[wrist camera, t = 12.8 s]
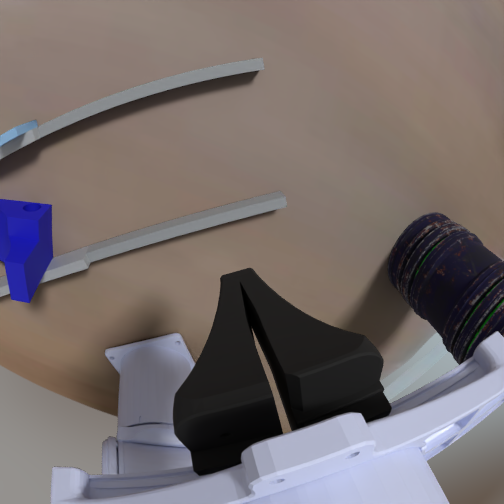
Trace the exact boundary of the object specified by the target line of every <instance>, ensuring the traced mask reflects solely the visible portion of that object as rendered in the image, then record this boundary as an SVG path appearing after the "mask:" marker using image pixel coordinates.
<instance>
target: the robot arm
mask: <svg viewBox="0 0 504 504" xmlns="http://www.w3.org/2000/svg"><path fill="white" fill-rule="evenodd" d="M220 281H221V286H220V296H219V301H218V307H217V311H216V315H215V319H214V322H213V326H212V329H211V332H210V334H209V337H208V340H207V342H206V344H205V346H204V349H203V351H202V353H201V355H200V357H199V359H198V361H197V362H196V364H195V362H194V360H193V358H192V356H191V354H190V352H189V350H188V348H187V346H186V344H185V342H184V340H183V338H182V336H181V335H180V334H179V333H173V334H169V335H165V336H161V337H157V338H153V339H149V340H145V341H140V342H136V343H132V344H127V345H123V346H118V347H114V348H109V349H106V350H105V355H106V357H107V358H108V360H109V361H110V362H111V364H112V365H113V366H114V368H115V369H116V370H117V371H118V373H119V374H120V384H119V401H118V431H117V438H115V437H111V436H109V437H108V439H107V440H105V441H103V444H102V475H89V474H88V473H86V472H85V471H83V470H81V469H79V468H75V467H53V468H52V482H51V504H449V502H448V500H447V498H446V496H445V494H444V492H443V491H442V489H441V487H440V485H439V484H438V482H437V480H436V478H435V476H434V474H433V472H432V471H431V469H430V467H429V465H428V463H427V462H426V461H427V460H429V459H430V458H432V457H433V456H435V455H436V454H438V453H439V452H441V451H442V450H443V449H445V448H446V447H448V446H449V445H451V444H452V443H453V442H455V441H456V440H457V439H459V438H460V437H461V436H463V435H464V434H465V433H467V432H468V431H469V430H471V429H472V428H473V427H474V426H476V425H477V424H478V423H479V422H481V421H482V420H483V419H484V418H486V417H487V416H488V415H489V414H490V413H492V412H493V411H494V410H495V409H496V408H498V407H499V406H500V405H501V404H502V403H503V402H504V337H503V336H502V335H501V334H500V333H499V332H498V331H496V332H495V333H493V334H492V335H490V336H489V337H488V338H486V339H485V340H483V341H482V342H481V343H480V344H479V345H478V346H477V348H476V349H475V351H474V354H473V356H472V357H471V358H469V359H468V360H466V361H465V362H463V363H462V364H460V365H459V366H457V367H455V368H454V369H452V370H451V371H449V372H447V373H446V374H444V375H442V376H441V377H439V378H437V379H436V380H434V381H432V382H430V383H429V384H427V385H425V386H423V387H421V388H419V389H418V390H416V391H414V392H412V393H410V394H408V395H406V396H404V397H402V398H400V399H398V400H397V401H394V402H392V403H389V402H388V400H387V398H386V397H385V395H384V393H383V391H384V388H383V386H382V384H381V382H380V381H379V380H380V376H381V372H382V368H383V358H382V356H381V354H380V353H379V351H378V350H377V349H376V347H375V346H374V345H373V344H372V343H371V342H370V341H369V340H368V339H367V338H366V337H365V336H364V335H360V334H356V333H353V332H349V331H345V330H342V329H339V328H336V327H333V326H331V325H328V324H326V323H324V322H322V321H319V320H317V319H315V318H313V317H311V316H309V315H308V314H306V313H304V312H302V311H301V310H299V309H297V308H296V307H294V306H293V305H291V304H290V303H289V302H287V301H286V300H285V299H283V298H282V297H281V296H279V295H278V294H277V293H276V292H275V291H274V290H272V289H271V288H270V287H269V286H268V285H267V284H266V283H265V282H264V281H263V280H262V279H261V278H260V277H259V276H258V275H257V274H256V272H255V271H254V270H253V269H252V268H247V269H244V270H240V271H236V272H233V273H229V274H226V275H222V277H221V278H220ZM251 326H252V327H251ZM252 329H253V331H254V333H255V335H256V338H257V340H258V342H259V344H260V347H261V349H262V351H263V353H264V355H265V357H266V360H267V362H268V364H269V366H270V369H271V371H272V374H273V377H274V380H275V383H276V386H277V389H278V392H279V395H280V398H281V400H282V403H283V406H284V409H285V412H286V415H287V418H288V421H289V424H290V427H291V430H292V431H291V432H288V433H285V434H283V432H282V427H281V423H280V420H279V416H278V412H277V408H276V405H275V401H274V397H273V394H272V391H271V388H270V385H269V382H268V379H267V376H266V374H265V371H264V368H263V366H262V363H261V360H260V357H259V355H258V352H257V349H256V346H255V341H254V336H253V331H252ZM176 341H180V342H176ZM111 356H113V357H111Z"/></svg>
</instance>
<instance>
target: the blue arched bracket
mask: <svg viewBox="0 0 504 504" xmlns="http://www.w3.org/2000/svg"><path fill="white" fill-rule="evenodd" d="M52 258H53V247H52V205H49V204H40V203H31V202H23V201H14V200H5V199H0V260H1V261H3V262H4V263H5V269H6V275H7V280H8V286H9V291H10V295H11V300H16V301H21V302H27V303H30V301H31V299H32V297H33V295H34V293H35V291H36V289H37V287H38V285H39V283H40V281H41V279H42V277H43V275H44V273H45V271H46V269H47V268H48V266H49V264H50V262H51V260H52Z"/></svg>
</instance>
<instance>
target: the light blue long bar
mask: <svg viewBox="0 0 504 504" xmlns="http://www.w3.org/2000/svg"><path fill="white" fill-rule="evenodd" d="M36 127H38V125H37V122H36V120H34V121H31V122H28V123H25V124H22V125H19V126H16V127H14V128H13V129H11V130H9V131H7V132H6V133H4V134H2V135H1V136H0V147H1V146H2V145H4V144H6V143H8V142H9V141H11V140H13V139H15V138H16V137H18V136H20V135H22V134H24V133H26V132H28V131H29V130H31V129H34V128H36Z"/></svg>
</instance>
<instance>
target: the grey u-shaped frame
mask: <svg viewBox="0 0 504 504" xmlns="http://www.w3.org/2000/svg"><path fill="white" fill-rule="evenodd" d="M258 70H264V64H263V58H258V59H251V60H244V61H238V62H233V63H227V64H222V65H217V66H212V67H207V68H203V69H198V70H194V71H190V72H186V73H182V74H178V75H174V76H170V77H167V78H163V79H160V80H156V81H153V82H149V83H146V84H143V85H140V86H137V87H133V88H130V89H127V90H124V91H122V92H119V93H116V94H113V95H110V96H108V97H105V98H102V99H100V100H97V101H94V102H92V103H89V104H87V105H85V106H82V107H80V108H77V109H75V110H73V111H70V112H68V113H66V114H64V115H61V116H59V117H57V118H55V119H53V120H51V121H49V122H47V123H44V124H42V125H40V126H38V127H36V128H34V129H31V130H29V131H28V132H26V133H24V134H22V135H20V136H18V137H16V138H15V139H13V140H11V141H9V142H8V143H6V144H4V145H2V146H1V147H0V159H2V158H4V157H6V156H7V155H9V154H11V153H13V152H15V151H16V150H18V149H20V148H22V147H24V146H26V145H28V144H30V143H32V142H34V141H36V140H38V139H40V138H42V137H44V136H46V135H48V134H50V133H52V132H54V131H56V130H59V129H61V128H63V127H65V126H68V125H70V124H72V123H75V122H77V121H79V120H82V119H84V118H87V117H89V116H92V115H94V114H97V113H99V112H102V111H105V110H107V109H110V108H113V107H116V106H118V105H121V104H124V103H127V102H130V101H133V100H136V99H139V98H142V97H146V96H149V95H152V94H155V93H159V92H162V91H166V90H169V89H173V88H177V87H181V86H185V85H188V84H193V83H197V82H201V81H205V80H210V79H214V78H219V77H224V76H229V75H235V74H240V73H246V72H252V71H258ZM284 207H287V203H286V197H285V195H284V194H283V193H282V192H281V191H278V192H274V193H270V194H266V195H262V196H258V197H254V198H250V199H246V200H243V201H239V202H235V203H231V204H227V205H224V206H220V207H216V208H212V209H209V210H205V211H201V212H198V213H194V214H191V215H187V216H184V217H180V218H177V219H173V220H170V221H166V222H163V223H160V224H156V225H153V226H150V227H146V228H143V229H140V230H136V231H133V232H130V233H127V234H124V235H120V236H117V237H114V238H111V239H108V240H105V241H102V242H99V243H95V244H92V245H89V246H86V247H83V248H80V249H77V250H74V251H72V252H69V253H66V254H63V255H60V256H57V257H54V258H52V260H51V262H50V264H49V266H48V268H47V269H46V271H45V273H44V275H43V277H42V279H41V281H40V283H43V282H46V281H50V280H53V279H56V278H59V277H62V276H65V275H68V274H71V273H75V272H78V271H81V270H84V269H87V268H88V267H89V265H90V262H93V261H96V260H100V259H103V258H106V257H109V256H113V255H116V254H119V253H122V252H126V251H129V250H132V249H136V248H139V247H142V246H146V245H149V244H153V243H156V242H159V241H163V240H166V239H170V238H173V237H177V236H180V235H184V234H187V233H191V232H194V231H198V230H201V229H205V228H209V227H212V226H216V225H220V224H223V223H227V222H231V221H234V220H238V219H242V218H245V217H249V216H253V215H257V214H261V213H264V212H268V211H272V210H276V209H280V208H284ZM40 283H39V284H40ZM7 294H10V291H9V286H8V280H7V275H5V276H2V277H0V297H1V296H4V295H7Z"/></svg>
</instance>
